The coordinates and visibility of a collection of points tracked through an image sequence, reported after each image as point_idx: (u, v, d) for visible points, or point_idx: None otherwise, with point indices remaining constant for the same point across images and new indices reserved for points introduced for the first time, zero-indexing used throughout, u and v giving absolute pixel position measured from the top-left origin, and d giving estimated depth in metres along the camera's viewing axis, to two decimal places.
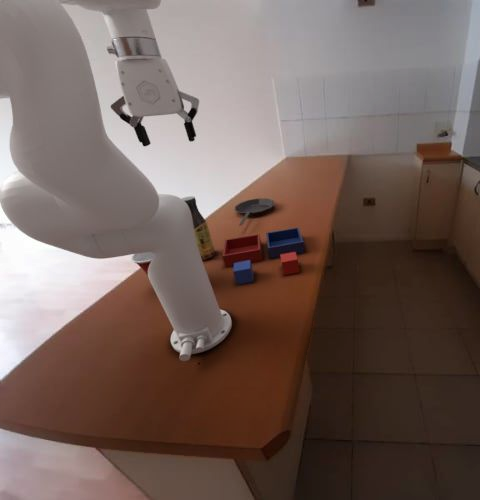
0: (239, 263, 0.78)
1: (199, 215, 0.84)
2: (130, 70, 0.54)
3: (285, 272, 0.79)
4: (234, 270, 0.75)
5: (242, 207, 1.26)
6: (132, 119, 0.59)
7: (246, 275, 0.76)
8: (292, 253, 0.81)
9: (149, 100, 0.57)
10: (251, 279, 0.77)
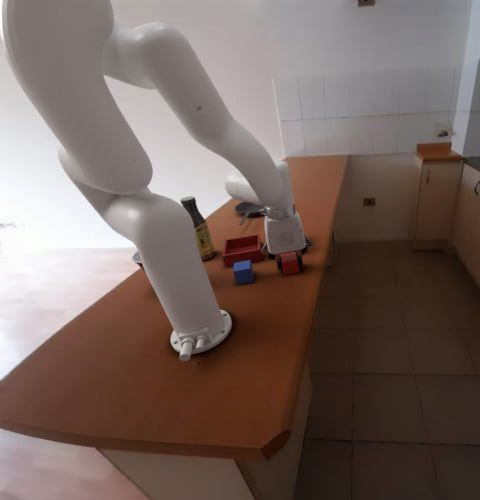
0: (239, 263, 0.78)
1: (199, 215, 0.84)
2: (276, 226, 0.71)
3: (285, 272, 0.79)
4: (234, 270, 0.75)
5: (242, 207, 1.26)
6: (277, 257, 0.77)
7: (246, 275, 0.76)
8: (292, 253, 0.81)
9: (285, 243, 0.74)
10: (251, 279, 0.77)
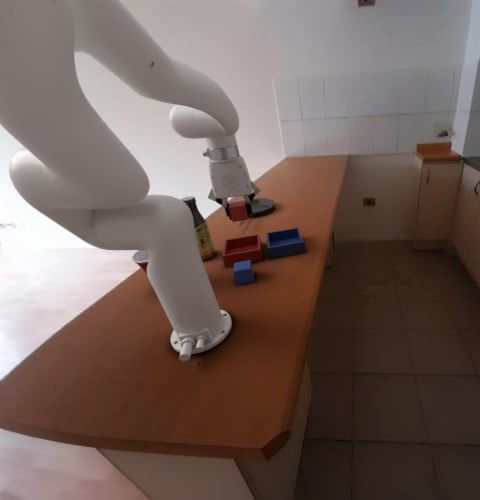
0: (239, 263, 0.78)
1: (199, 215, 0.84)
2: (219, 168, 0.72)
3: (233, 218, 0.80)
4: (234, 270, 0.75)
5: None
6: (224, 202, 0.78)
7: (246, 275, 0.76)
8: (241, 201, 0.82)
9: (230, 187, 0.75)
10: (251, 279, 0.77)
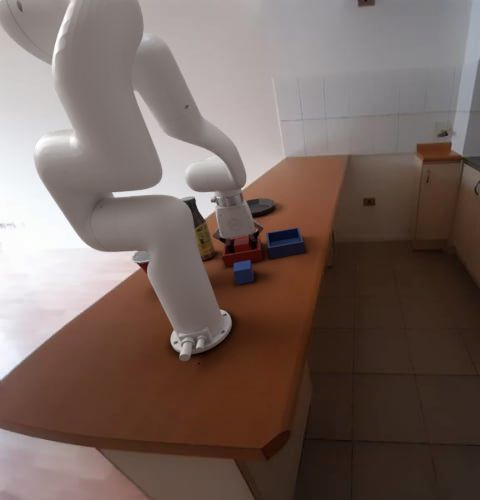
0: (239, 263, 0.78)
1: (199, 215, 0.84)
2: (225, 213, 0.80)
3: None
4: (234, 270, 0.75)
5: None
6: (227, 241, 0.86)
7: (246, 275, 0.76)
8: (245, 238, 0.90)
9: (235, 229, 0.83)
10: (251, 279, 0.77)
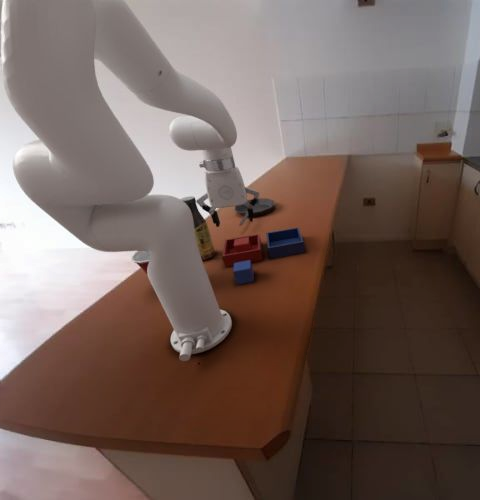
0: (239, 263, 0.78)
1: (199, 215, 0.84)
2: (215, 179, 0.74)
3: None
4: (234, 270, 0.75)
5: (242, 207, 1.26)
6: (211, 209, 0.79)
7: (246, 275, 0.76)
8: (245, 238, 0.90)
9: (225, 197, 0.77)
10: (251, 279, 0.77)
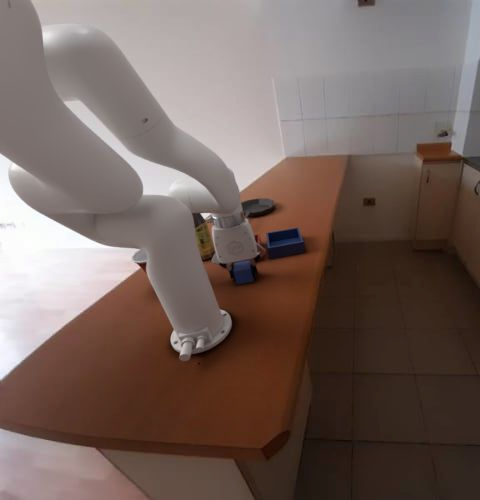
0: (239, 263, 0.78)
1: (199, 215, 0.84)
2: (224, 235, 0.69)
3: None
4: (234, 270, 0.75)
5: (242, 207, 1.26)
6: (229, 266, 0.74)
7: (246, 275, 0.76)
8: None
9: (235, 252, 0.71)
10: (251, 279, 0.77)
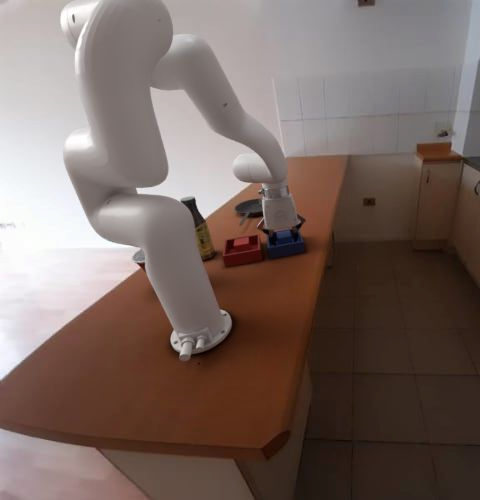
0: (281, 232, 0.92)
1: (199, 215, 0.84)
2: (272, 205, 0.82)
3: None
4: (278, 237, 0.89)
5: (242, 207, 1.26)
6: (271, 232, 0.88)
7: (288, 242, 0.90)
8: (245, 238, 0.90)
9: (280, 220, 0.85)
10: None
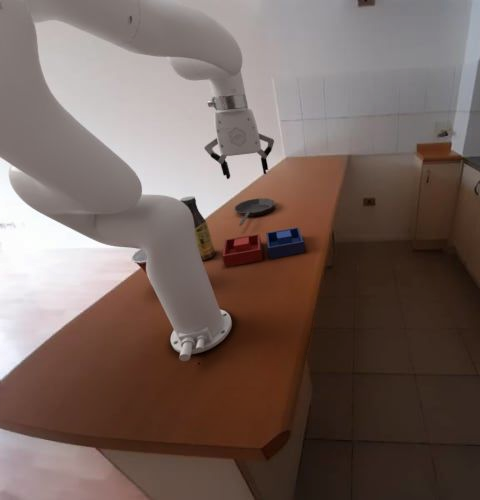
0: (281, 232, 0.92)
1: (199, 215, 0.84)
2: (226, 119, 0.66)
3: None
4: (278, 237, 0.89)
5: (242, 207, 1.26)
6: (220, 157, 0.70)
7: (288, 242, 0.90)
8: (245, 238, 0.90)
9: (237, 143, 0.68)
10: None
